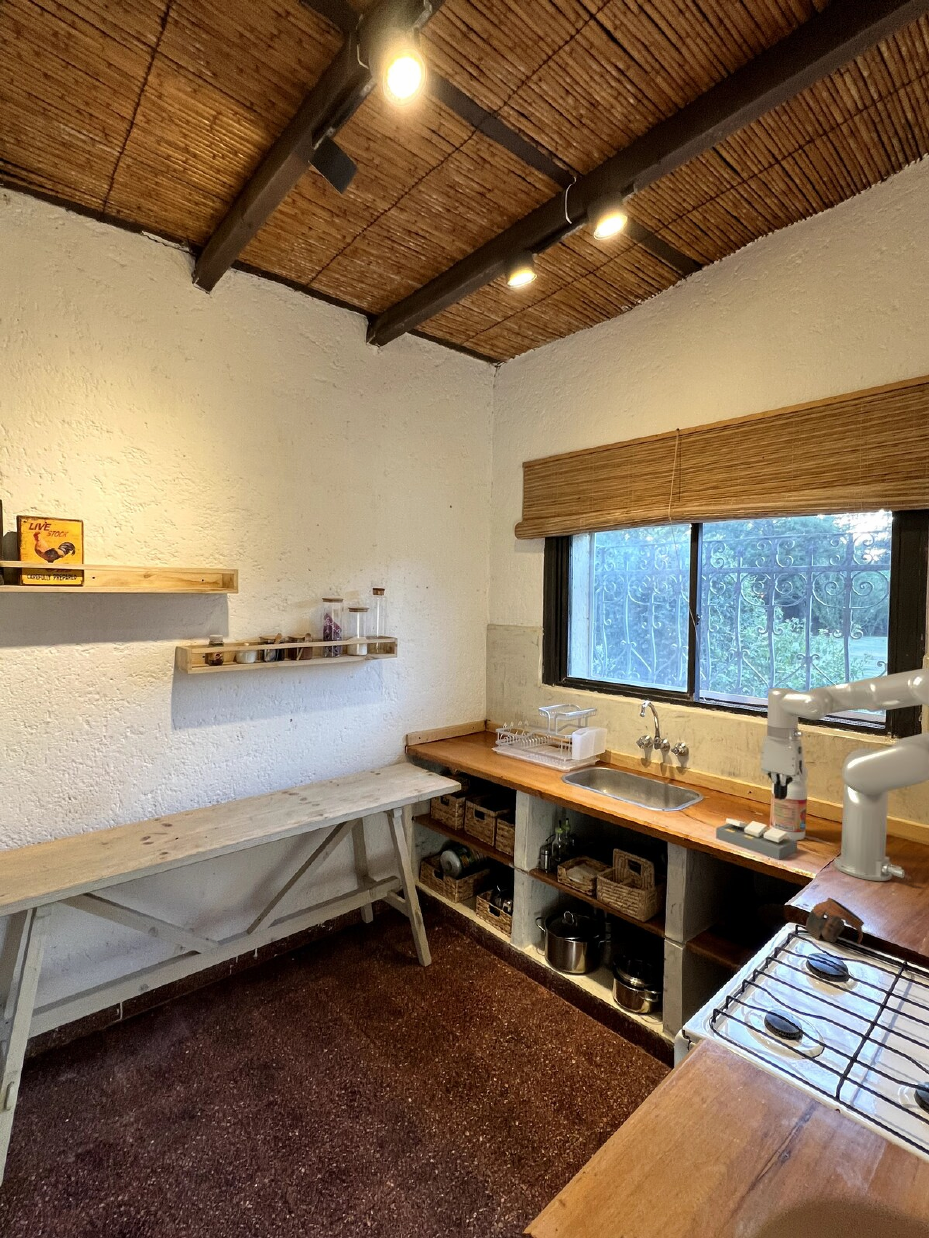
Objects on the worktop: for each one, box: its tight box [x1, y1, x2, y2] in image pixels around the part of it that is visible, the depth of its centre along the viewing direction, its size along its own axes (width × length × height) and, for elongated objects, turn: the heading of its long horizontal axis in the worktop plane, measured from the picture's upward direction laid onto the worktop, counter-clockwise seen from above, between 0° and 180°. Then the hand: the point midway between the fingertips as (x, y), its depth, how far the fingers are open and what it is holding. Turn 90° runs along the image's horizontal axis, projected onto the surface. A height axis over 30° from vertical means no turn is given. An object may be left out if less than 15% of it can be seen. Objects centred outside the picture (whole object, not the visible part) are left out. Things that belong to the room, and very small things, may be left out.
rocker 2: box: [744, 820, 768, 837], centre depth 170 cm, size 4×5×2 cm
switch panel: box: [715, 823, 798, 861], centre depth 170 cm, size 18×10×3 cm, turn 37°
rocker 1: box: [725, 817, 749, 828], centre depth 174 cm, size 4×5×2 cm
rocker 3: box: [764, 828, 787, 842], centre depth 165 cm, size 4×5×2 cm
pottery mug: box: [804, 897, 865, 945], centre depth 121 cm, size 12×10×8 cm
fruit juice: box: [769, 764, 809, 841], centre depth 178 cm, size 9×9×28 cm
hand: (780, 798), depth 166 cm, fingers closed
